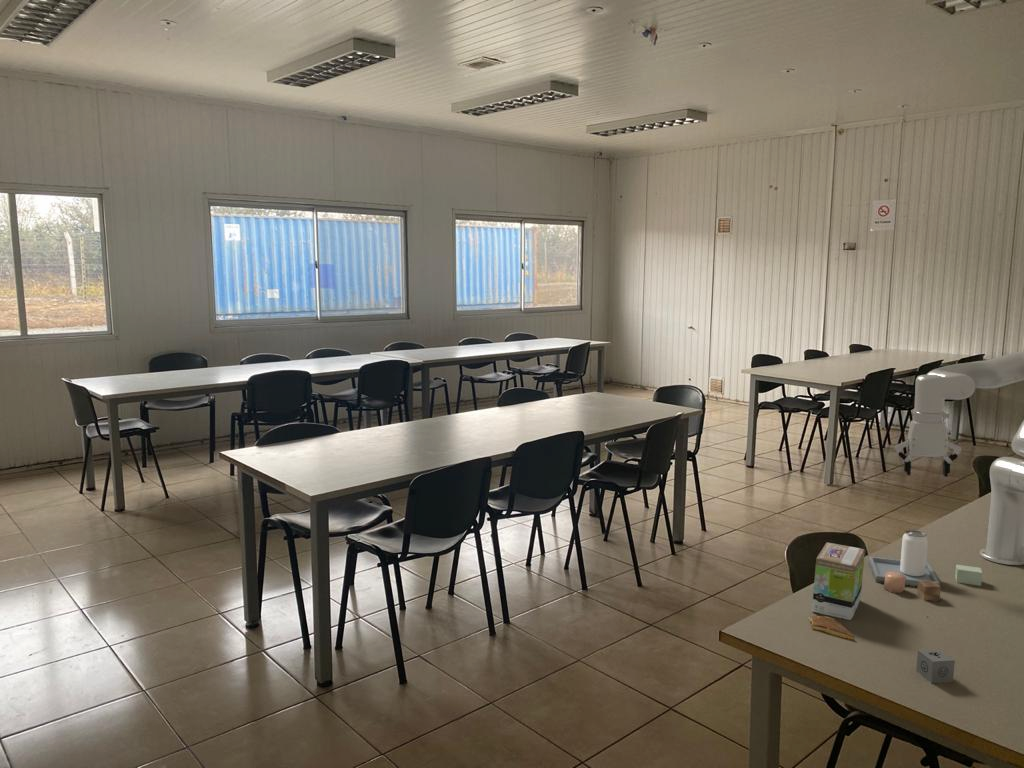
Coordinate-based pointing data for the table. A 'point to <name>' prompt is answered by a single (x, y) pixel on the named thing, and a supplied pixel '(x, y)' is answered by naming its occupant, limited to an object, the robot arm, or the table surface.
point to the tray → (893, 565)
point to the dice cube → (935, 665)
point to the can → (913, 553)
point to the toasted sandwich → (829, 626)
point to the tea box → (838, 580)
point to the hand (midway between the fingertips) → (926, 474)
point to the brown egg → (894, 582)
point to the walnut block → (928, 590)
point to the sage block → (968, 575)
